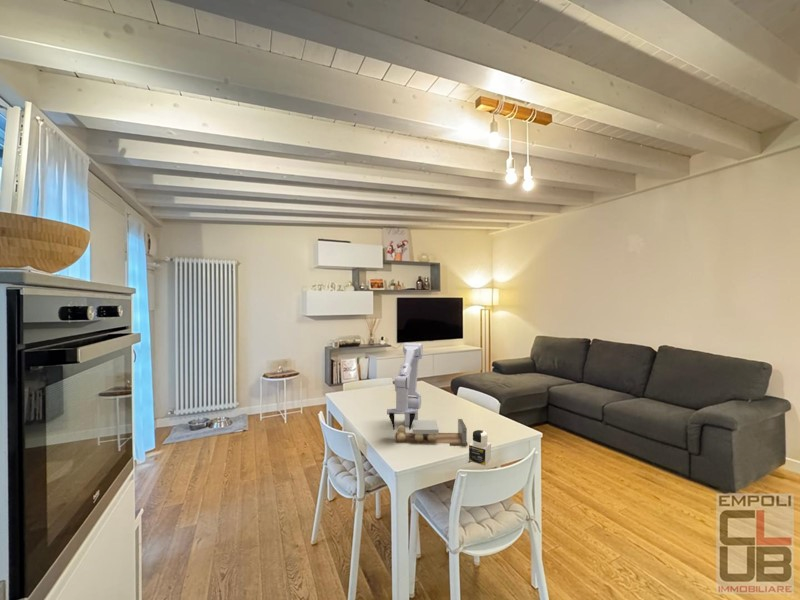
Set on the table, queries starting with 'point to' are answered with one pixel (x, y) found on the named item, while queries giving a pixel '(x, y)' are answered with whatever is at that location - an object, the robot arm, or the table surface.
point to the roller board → (440, 437)
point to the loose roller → (401, 434)
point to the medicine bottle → (480, 448)
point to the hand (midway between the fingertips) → (401, 429)
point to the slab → (425, 427)
